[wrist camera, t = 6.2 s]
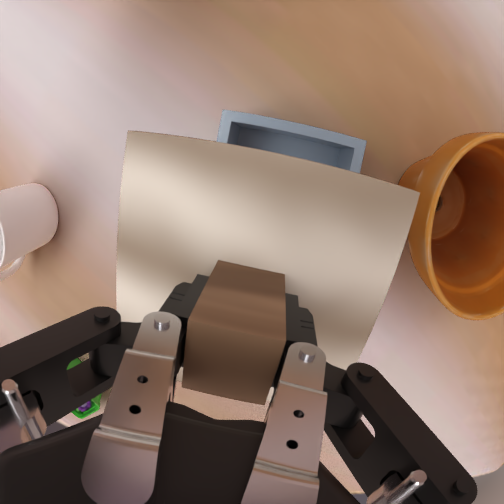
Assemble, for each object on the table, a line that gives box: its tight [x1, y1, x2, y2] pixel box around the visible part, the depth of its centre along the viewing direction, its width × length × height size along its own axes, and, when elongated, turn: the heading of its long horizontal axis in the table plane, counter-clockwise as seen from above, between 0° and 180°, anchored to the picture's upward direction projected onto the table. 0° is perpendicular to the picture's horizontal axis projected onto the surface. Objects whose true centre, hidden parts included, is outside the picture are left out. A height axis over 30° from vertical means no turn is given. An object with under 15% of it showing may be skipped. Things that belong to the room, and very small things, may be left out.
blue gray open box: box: [217, 110, 367, 173], centre depth 26 cm, size 11×11×7 cm
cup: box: [0, 183, 58, 281], centre depth 29 cm, size 8×12×10 cm
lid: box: [116, 131, 420, 405], centre depth 12 cm, size 13×13×6 cm
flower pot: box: [398, 132, 504, 320], centre depth 23 cm, size 14×14×13 cm
